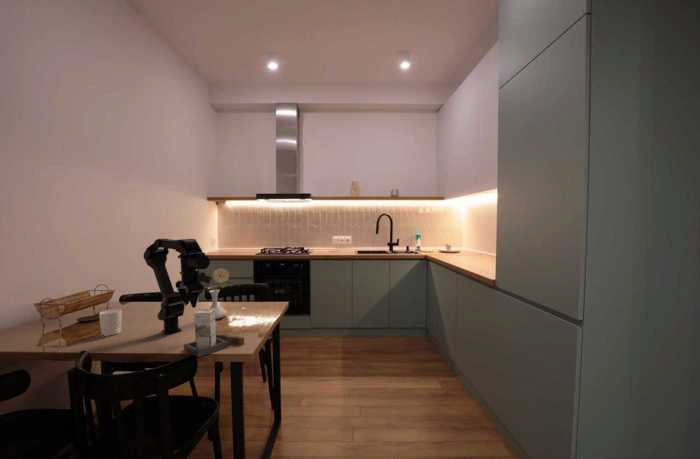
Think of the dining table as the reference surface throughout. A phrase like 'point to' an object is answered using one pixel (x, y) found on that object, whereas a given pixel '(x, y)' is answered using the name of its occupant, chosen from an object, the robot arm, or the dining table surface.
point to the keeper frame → (191, 348)
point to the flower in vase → (219, 277)
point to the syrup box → (205, 328)
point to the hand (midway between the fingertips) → (190, 305)
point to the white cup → (111, 321)
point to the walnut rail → (231, 338)
